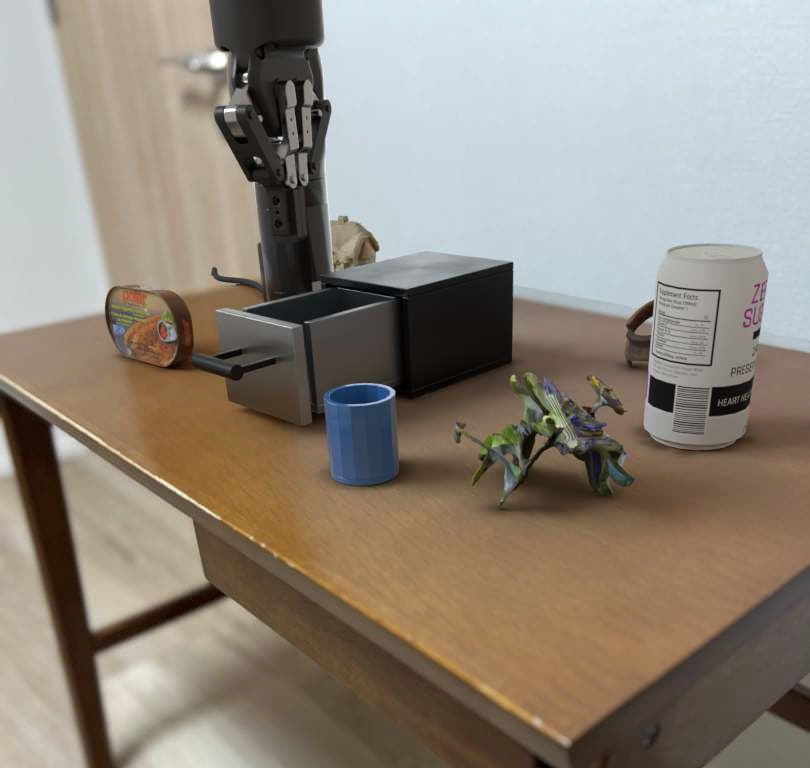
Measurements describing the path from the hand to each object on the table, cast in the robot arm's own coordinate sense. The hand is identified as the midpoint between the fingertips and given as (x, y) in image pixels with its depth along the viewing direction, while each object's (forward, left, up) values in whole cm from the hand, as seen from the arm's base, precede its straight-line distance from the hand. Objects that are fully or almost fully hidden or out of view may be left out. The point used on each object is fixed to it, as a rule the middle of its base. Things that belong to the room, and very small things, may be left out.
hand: (290, 241), depth 66 cm
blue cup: (+6, +1, -17) cm, 18 cm away
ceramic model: (-51, +49, -18) cm, 73 cm away
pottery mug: (+10, +41, -18) cm, 45 cm away
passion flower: (+20, +6, -18) cm, 27 cm away
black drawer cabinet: (-10, +24, -17) cm, 31 cm away
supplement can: (+22, +23, -18) cm, 37 cm away
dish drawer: (-10, +7, -17) cm, 20 cm away
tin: (-38, +8, -18) cm, 42 cm away
